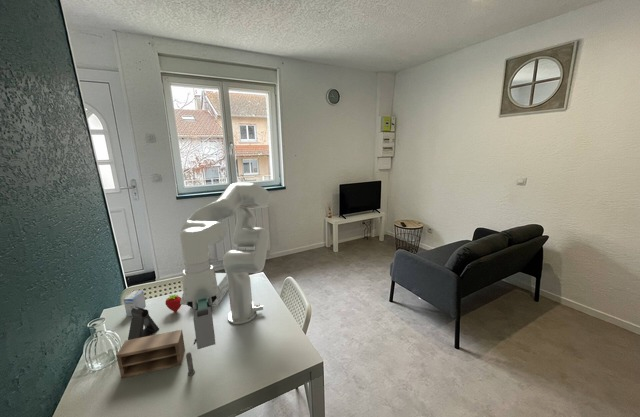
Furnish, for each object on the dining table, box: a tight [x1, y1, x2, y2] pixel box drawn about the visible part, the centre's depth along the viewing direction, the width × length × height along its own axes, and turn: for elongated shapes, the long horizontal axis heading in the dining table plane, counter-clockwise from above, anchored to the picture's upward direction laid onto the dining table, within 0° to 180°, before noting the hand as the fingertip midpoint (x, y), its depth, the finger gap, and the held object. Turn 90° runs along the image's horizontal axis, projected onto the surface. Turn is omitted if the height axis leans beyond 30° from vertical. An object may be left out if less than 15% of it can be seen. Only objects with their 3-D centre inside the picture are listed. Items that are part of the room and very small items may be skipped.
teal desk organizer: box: [192, 298, 216, 350], centre depth 87 cm, size 23×5×10 cm, turn 25°
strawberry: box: [165, 293, 182, 313], centre depth 120 cm, size 6×8×10 cm
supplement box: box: [197, 272, 229, 307], centre depth 133 cm, size 17×13×9 cm
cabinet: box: [116, 329, 196, 379], centre depth 89 cm, size 23×13×9 cm, turn 107°
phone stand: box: [127, 307, 160, 340], centre depth 105 cm, size 9×6×12 cm, turn 158°
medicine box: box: [123, 289, 147, 317], centre depth 122 cm, size 8×4×9 cm, turn 5°
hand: (204, 315), depth 87 cm, fingers closed on teal desk organizer, 2 cm apart
